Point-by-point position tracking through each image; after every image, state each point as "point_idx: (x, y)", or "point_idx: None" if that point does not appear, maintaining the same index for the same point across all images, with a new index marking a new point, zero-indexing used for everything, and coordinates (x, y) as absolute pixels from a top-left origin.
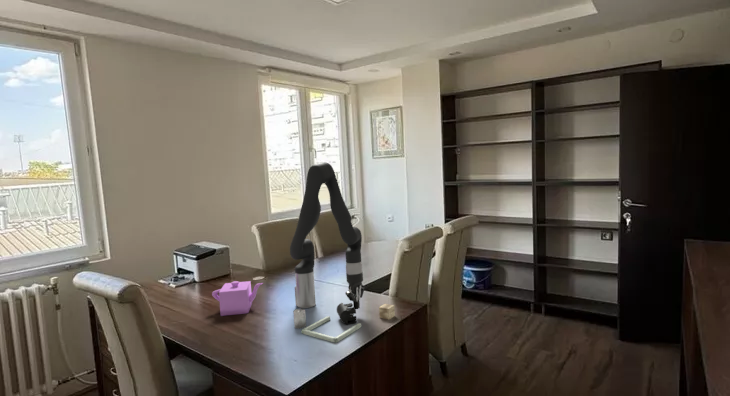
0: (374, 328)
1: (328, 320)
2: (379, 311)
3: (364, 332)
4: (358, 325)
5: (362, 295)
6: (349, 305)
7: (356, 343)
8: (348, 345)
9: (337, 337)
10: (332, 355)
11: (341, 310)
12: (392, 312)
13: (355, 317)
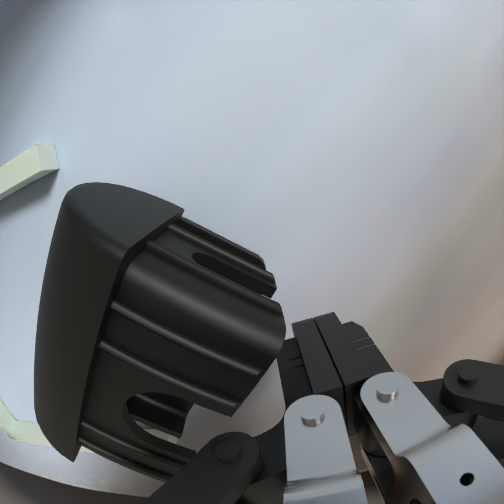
0: None
1: (41, 176)
2: None
3: None
4: None
5: (474, 426)
6: (179, 397)
7: (83, 478)
8: (54, 465)
9: (17, 437)
10: (5, 450)
11: (38, 399)
12: None
13: (170, 430)
